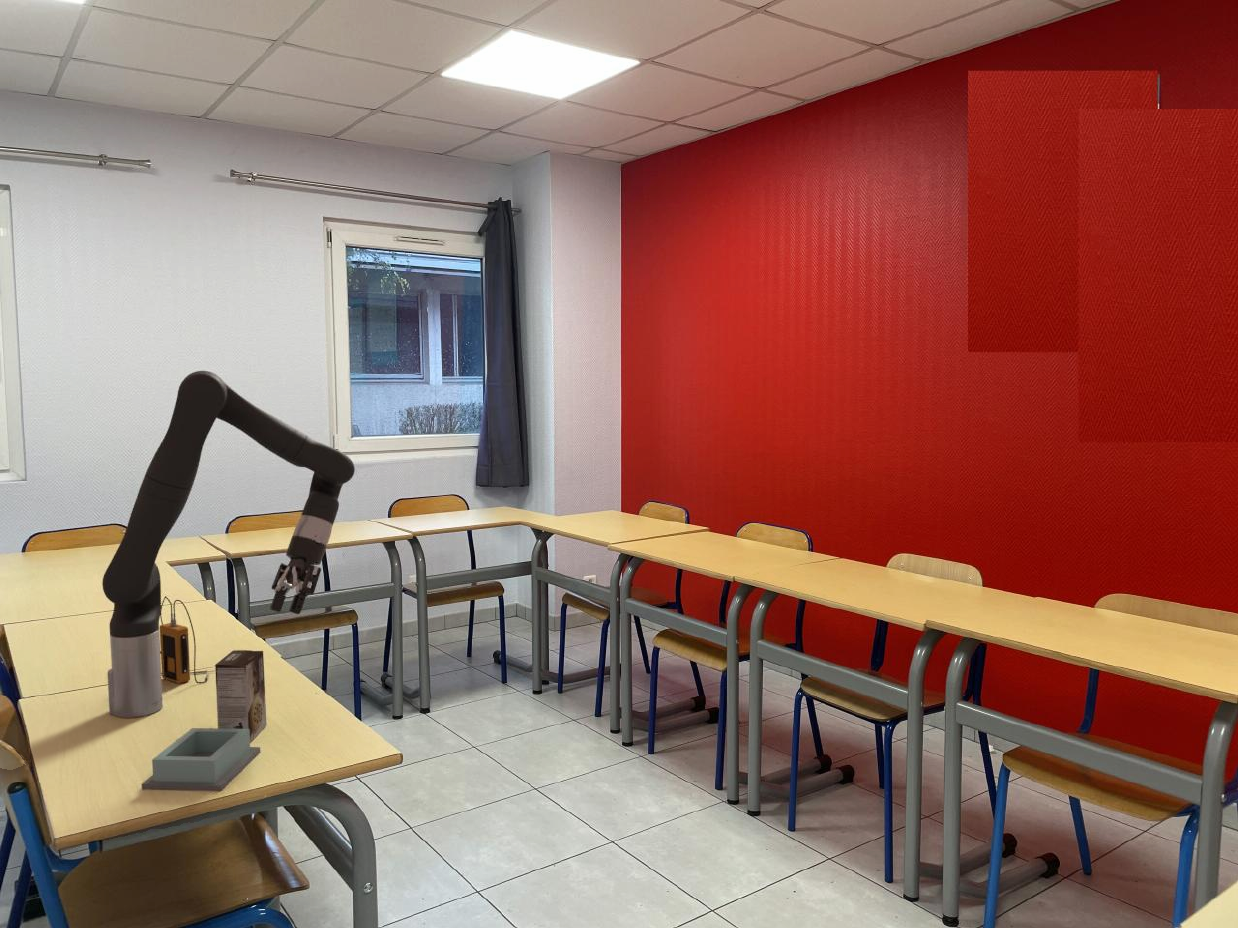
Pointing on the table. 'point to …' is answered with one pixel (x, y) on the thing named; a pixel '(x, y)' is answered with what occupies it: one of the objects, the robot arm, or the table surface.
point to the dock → (202, 760)
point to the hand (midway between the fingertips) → (284, 612)
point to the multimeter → (176, 650)
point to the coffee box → (241, 691)
